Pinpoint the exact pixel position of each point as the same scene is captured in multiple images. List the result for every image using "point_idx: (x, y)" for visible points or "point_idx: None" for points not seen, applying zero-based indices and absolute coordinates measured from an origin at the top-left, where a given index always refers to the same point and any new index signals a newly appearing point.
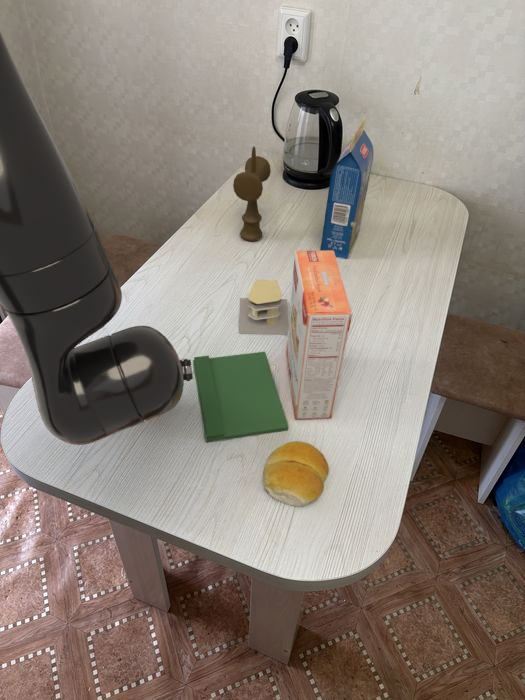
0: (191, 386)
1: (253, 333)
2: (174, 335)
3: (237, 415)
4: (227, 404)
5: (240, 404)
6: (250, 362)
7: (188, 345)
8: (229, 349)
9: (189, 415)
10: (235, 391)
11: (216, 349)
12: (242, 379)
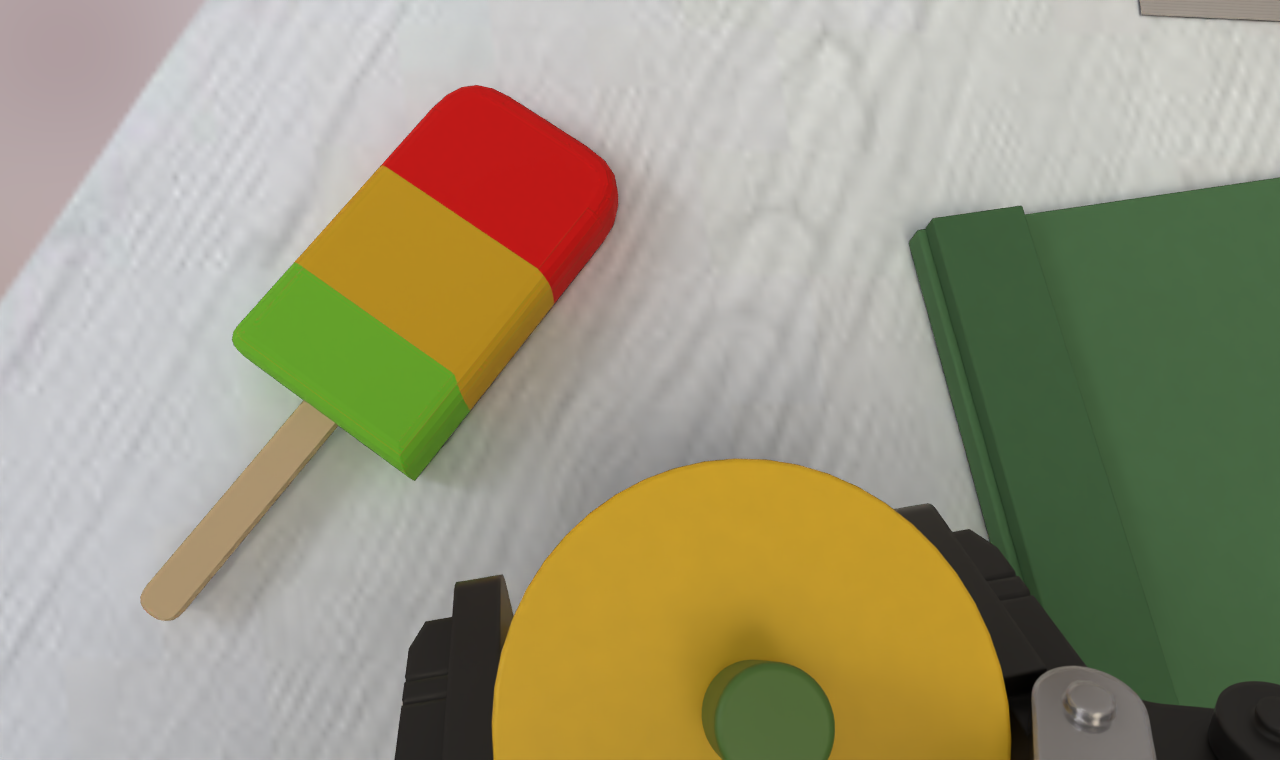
0: (923, 425)
1: (1230, 18)
2: (763, 25)
3: None
4: (1194, 604)
5: (1277, 606)
6: (1275, 254)
7: (857, 102)
8: (1106, 136)
9: None
10: (1226, 494)
11: (1028, 135)
12: (1251, 394)
